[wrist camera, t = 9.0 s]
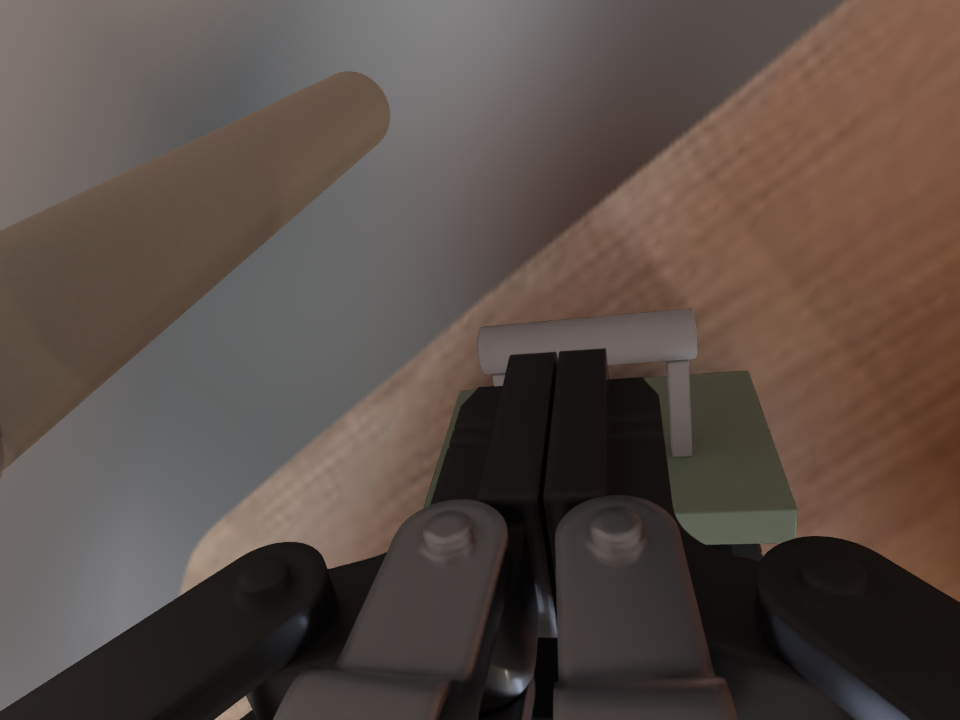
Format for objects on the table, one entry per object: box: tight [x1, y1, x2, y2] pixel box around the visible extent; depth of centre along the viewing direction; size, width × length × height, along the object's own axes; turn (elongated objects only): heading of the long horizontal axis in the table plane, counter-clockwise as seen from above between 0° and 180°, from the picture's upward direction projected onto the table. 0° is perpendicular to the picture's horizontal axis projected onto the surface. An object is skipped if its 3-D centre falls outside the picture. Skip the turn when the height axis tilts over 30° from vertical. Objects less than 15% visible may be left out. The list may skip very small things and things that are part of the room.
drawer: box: [424, 308, 797, 717], centre depth 25 cm, size 17×10×7 cm, turn 9°
